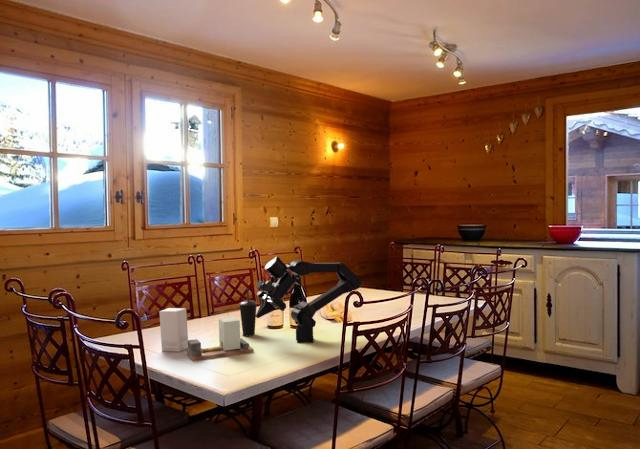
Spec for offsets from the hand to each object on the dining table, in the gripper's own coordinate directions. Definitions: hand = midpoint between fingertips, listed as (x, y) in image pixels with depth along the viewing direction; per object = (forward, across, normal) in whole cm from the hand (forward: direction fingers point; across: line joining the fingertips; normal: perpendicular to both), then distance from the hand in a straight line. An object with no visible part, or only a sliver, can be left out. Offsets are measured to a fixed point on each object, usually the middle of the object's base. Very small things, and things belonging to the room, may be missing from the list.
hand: (256, 317), depth 199 cm
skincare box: (+29, -14, -12) cm, 34 cm away
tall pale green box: (+15, 0, 0) cm, 15 cm away
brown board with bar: (+19, 0, -2) cm, 19 cm away
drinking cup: (+6, -21, +11) cm, 24 cm away
